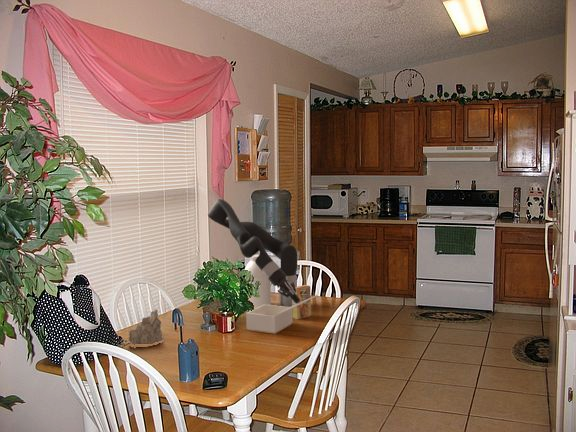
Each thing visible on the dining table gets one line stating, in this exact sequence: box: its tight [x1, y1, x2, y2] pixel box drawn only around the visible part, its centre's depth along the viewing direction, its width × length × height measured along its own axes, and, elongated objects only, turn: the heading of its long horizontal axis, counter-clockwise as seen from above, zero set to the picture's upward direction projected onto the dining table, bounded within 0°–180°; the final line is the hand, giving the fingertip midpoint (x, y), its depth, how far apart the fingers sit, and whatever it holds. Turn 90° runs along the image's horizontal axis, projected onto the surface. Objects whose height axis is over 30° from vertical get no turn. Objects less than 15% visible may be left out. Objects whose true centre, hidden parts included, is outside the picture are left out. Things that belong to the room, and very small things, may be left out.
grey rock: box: [128, 309, 165, 345], centre depth 254 cm, size 16×16×15 cm
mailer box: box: [245, 304, 294, 335], centre depth 272 cm, size 15×17×8 cm
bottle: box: [244, 254, 272, 309], centre depth 306 cm, size 14×14×28 cm
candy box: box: [292, 284, 312, 320], centre depth 286 cm, size 9×4×15 cm, turn 129°
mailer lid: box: [275, 294, 318, 316], centre depth 264 cm, size 1×17×15 cm
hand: (298, 301), depth 264 cm, fingers closed
